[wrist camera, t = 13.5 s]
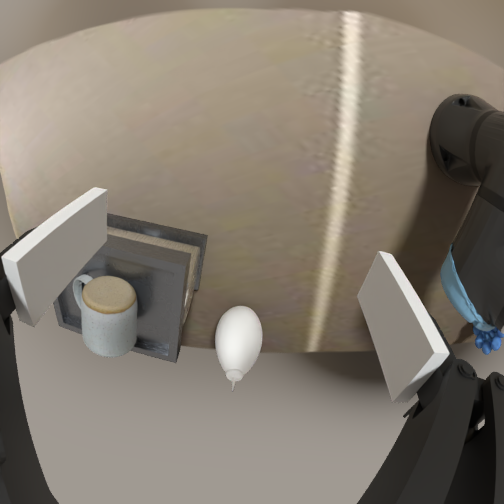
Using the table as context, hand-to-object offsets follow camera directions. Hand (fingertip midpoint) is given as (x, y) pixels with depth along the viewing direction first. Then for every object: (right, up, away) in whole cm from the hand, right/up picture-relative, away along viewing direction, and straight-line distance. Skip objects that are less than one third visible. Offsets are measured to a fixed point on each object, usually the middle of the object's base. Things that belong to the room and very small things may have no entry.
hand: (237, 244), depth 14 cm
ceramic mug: (-18, -6, +24) cm, 31 cm away
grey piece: (-18, 0, +36) cm, 40 cm away
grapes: (+54, -14, +40) cm, 68 cm away
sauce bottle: (-1, -11, +42) cm, 43 cm away
